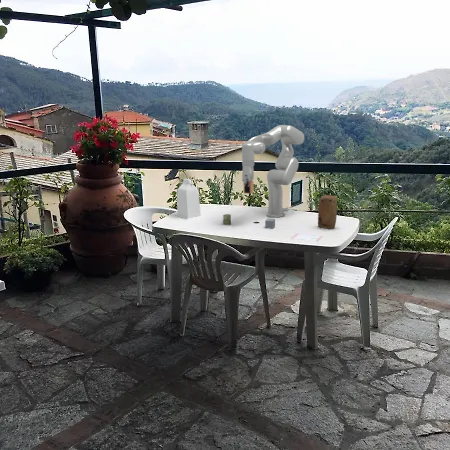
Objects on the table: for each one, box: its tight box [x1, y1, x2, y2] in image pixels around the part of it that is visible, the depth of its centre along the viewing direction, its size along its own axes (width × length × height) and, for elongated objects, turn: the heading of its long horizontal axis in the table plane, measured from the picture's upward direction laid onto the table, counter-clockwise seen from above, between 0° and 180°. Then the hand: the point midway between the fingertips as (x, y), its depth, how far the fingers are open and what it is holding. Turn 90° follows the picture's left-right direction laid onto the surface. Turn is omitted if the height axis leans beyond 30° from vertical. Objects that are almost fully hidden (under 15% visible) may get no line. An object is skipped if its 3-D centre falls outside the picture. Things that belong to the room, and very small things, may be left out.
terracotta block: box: [243, 181, 255, 195], centre depth 286 cm, size 5×5×7 cm
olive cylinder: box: [222, 213, 232, 226], centre depth 293 cm, size 5×5×6 cm
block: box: [317, 194, 338, 230], centre depth 277 cm, size 11×8×20 cm
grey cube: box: [264, 218, 276, 230], centre depth 283 cm, size 5×5×5 cm
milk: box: [176, 178, 202, 220], centre depth 313 cm, size 12×12×26 cm
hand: (248, 191), depth 287 cm, fingers closed on terracotta block, 5 cm apart
